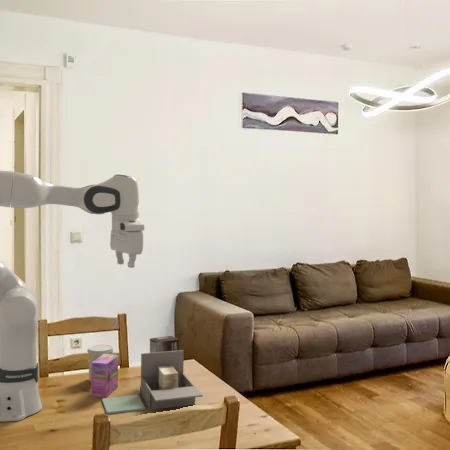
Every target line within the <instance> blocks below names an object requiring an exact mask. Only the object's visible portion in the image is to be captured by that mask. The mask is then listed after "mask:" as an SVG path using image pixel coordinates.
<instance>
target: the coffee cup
mask: <svg viewBox="0 0 450 450" xmlns="http://www.w3.org/2000/svg"><path fill="white" fill-rule="evenodd" d="M103 354H113V355H114V347H113V346H112V345H109V344H94V345H91V346H88V348H87V362H88V363H87V364H88V365H87V366H88V375H89V381H90V383H91V364H92V362H93V361H94V360H96V359H97V358H99V357H100V356H102V355H103Z"/></svg>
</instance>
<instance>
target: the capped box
mask: <svg viewBox="0 0 450 450" xmlns="http://www.w3.org/2000/svg"><path fill="white" fill-rule="evenodd" d="M171 388H178V372H177V371H176V370H175V369H174V367H173V366H172V365H167V366H157V390H162V389H171Z"/></svg>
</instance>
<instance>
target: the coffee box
mask: <svg viewBox="0 0 450 450" xmlns="http://www.w3.org/2000/svg"><path fill="white" fill-rule="evenodd" d="M179 342H180V340H179V338H177V337H175V336H173V335H169V336H160V337H152V338H151V337H149V353H155V352H167V351H179V350H180V349H179V346H180V345H179Z"/></svg>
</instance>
